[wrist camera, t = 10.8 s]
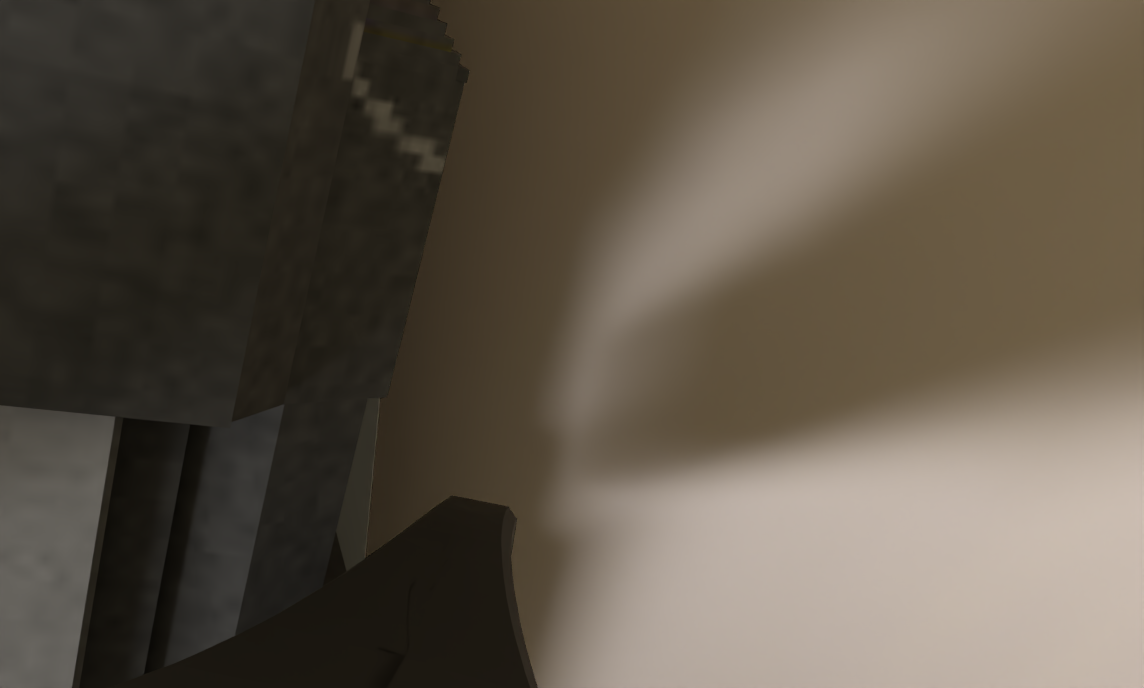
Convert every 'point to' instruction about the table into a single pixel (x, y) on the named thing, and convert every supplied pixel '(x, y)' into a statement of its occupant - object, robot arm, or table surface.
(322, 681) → the robot arm
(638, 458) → the table surface
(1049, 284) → the table surface
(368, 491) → the grey thin plate
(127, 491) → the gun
